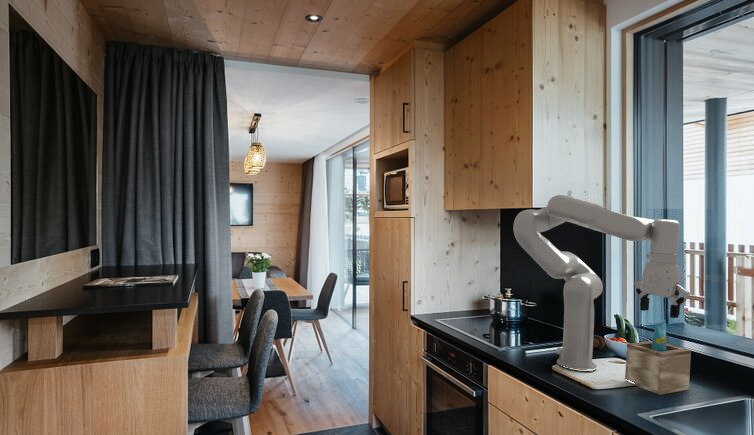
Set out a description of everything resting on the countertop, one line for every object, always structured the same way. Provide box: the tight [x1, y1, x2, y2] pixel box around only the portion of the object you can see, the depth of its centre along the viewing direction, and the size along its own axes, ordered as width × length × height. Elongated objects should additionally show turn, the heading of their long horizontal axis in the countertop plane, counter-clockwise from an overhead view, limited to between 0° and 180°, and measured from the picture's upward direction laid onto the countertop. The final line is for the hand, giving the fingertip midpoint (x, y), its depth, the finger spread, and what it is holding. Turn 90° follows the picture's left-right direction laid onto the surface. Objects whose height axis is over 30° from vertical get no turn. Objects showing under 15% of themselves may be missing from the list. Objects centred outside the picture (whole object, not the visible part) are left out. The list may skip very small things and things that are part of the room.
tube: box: [651, 319, 667, 352], centre depth 149 cm, size 7×5×19 cm, turn 137°
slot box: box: [624, 340, 692, 396], centre depth 150 cm, size 12×14×12 cm
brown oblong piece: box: [593, 334, 606, 351], centre depth 186 cm, size 6×5×15 cm
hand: (658, 313), depth 150 cm, fingers open, 9 cm apart
